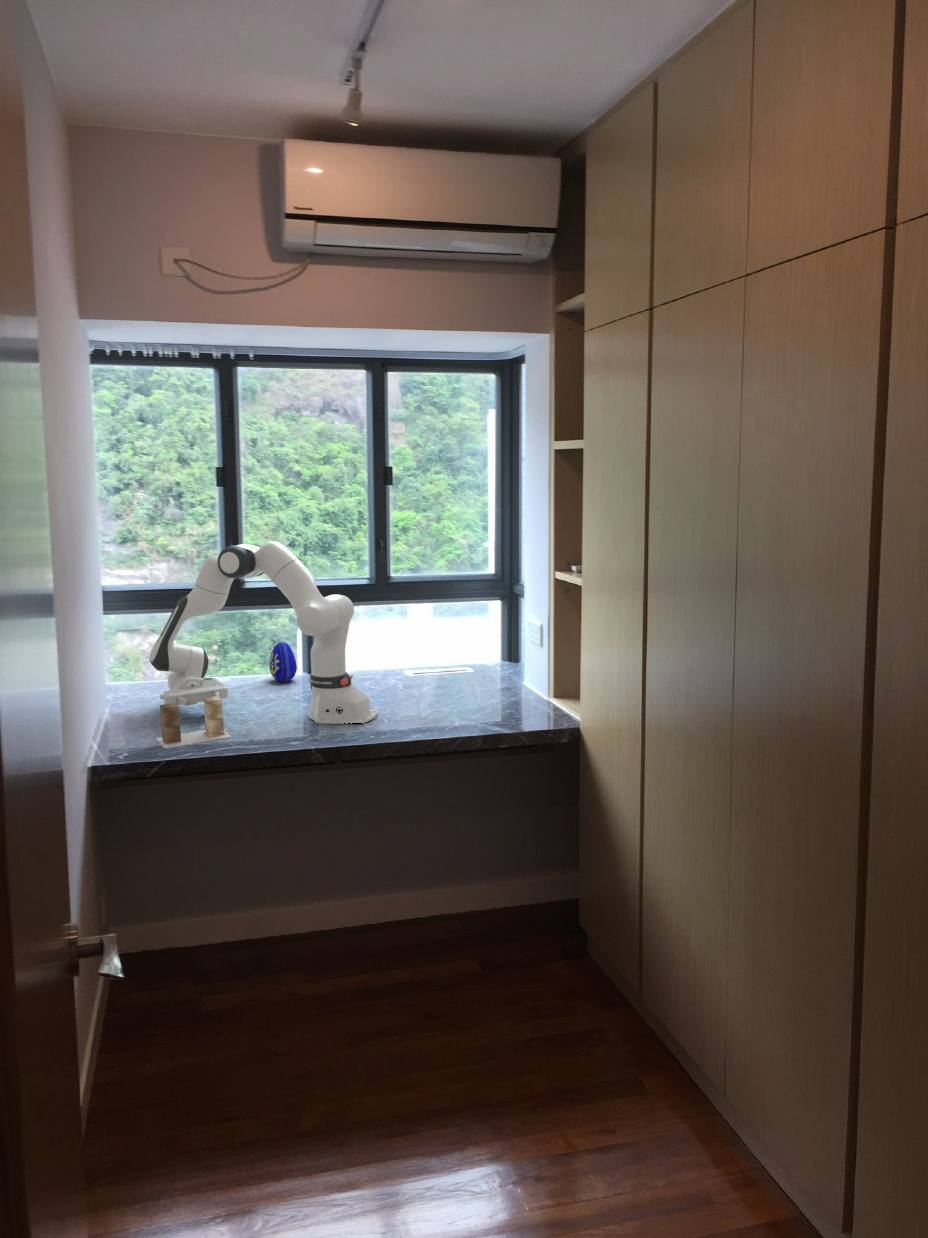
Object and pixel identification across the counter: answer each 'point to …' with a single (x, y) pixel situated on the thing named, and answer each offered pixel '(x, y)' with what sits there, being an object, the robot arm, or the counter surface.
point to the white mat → (193, 738)
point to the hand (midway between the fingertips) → (202, 700)
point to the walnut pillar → (170, 723)
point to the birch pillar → (213, 716)
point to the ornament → (282, 663)
